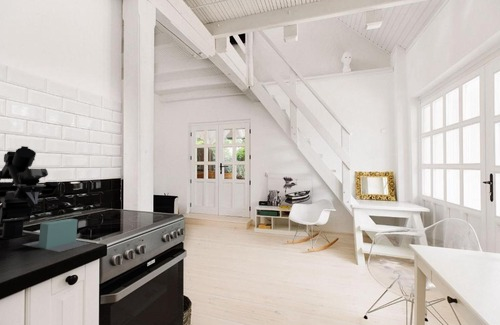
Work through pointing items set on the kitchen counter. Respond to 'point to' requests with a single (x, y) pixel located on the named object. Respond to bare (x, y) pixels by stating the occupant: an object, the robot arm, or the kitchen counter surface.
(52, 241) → the teal block
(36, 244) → the slate mat
